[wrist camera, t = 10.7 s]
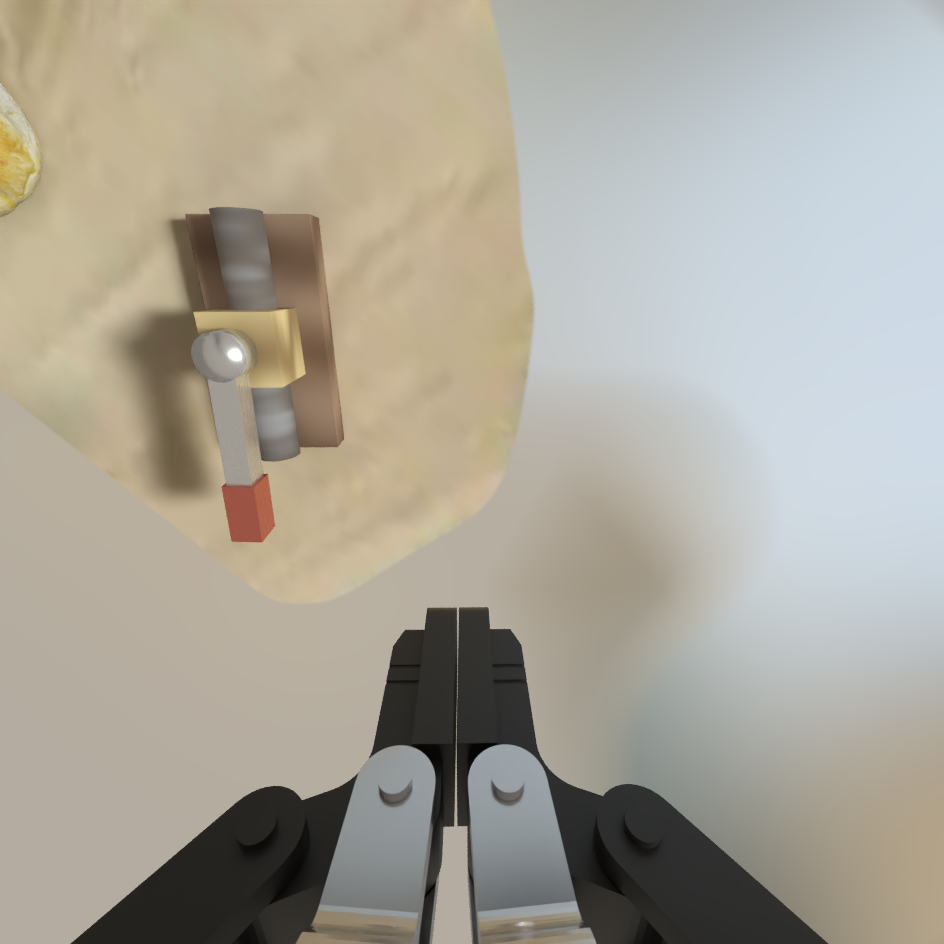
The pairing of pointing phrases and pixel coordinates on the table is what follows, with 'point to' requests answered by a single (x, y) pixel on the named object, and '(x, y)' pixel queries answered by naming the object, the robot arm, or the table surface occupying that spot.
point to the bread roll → (16, 155)
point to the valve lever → (236, 430)
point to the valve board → (289, 291)
